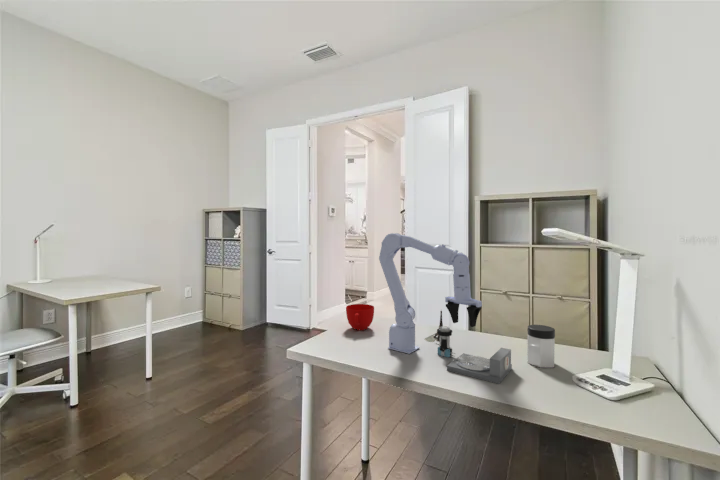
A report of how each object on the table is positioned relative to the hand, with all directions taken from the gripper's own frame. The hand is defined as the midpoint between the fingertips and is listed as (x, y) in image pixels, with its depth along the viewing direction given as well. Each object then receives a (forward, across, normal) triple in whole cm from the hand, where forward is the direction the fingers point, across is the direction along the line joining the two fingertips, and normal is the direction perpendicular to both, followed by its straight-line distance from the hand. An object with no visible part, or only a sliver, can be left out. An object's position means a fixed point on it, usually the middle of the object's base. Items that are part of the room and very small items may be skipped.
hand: (464, 324), depth 121 cm
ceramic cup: (+9, +48, +13) cm, 51 cm away
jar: (+13, -19, -14) cm, 27 cm away
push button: (+11, +4, +6) cm, 13 cm away
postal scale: (+11, -11, +7) cm, 17 cm away
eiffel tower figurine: (+11, +18, -7) cm, 22 cm away
